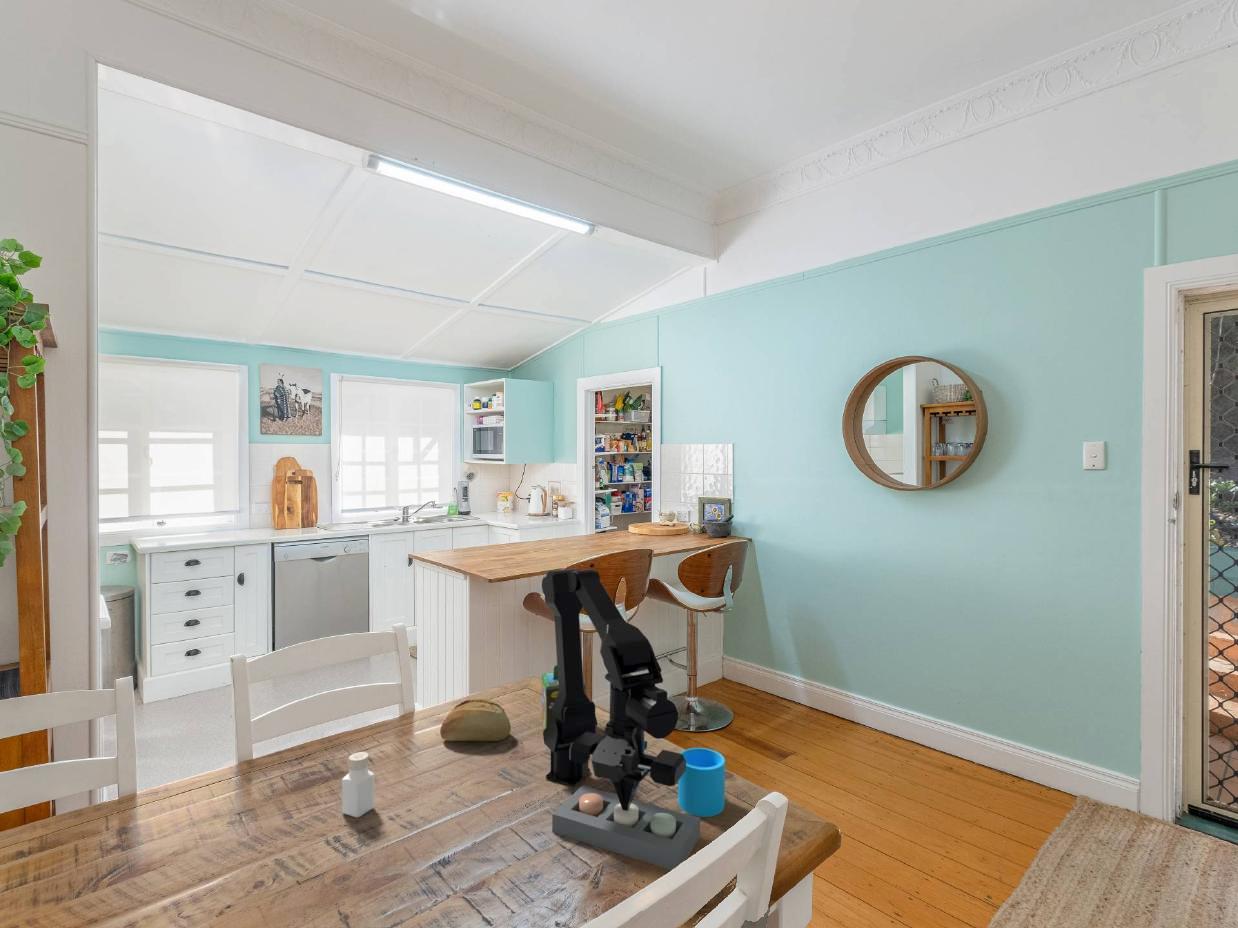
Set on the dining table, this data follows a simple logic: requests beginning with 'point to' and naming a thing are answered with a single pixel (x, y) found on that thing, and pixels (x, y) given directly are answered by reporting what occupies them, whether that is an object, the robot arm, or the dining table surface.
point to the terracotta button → (591, 804)
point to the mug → (702, 783)
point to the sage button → (663, 825)
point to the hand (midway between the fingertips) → (625, 809)
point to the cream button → (626, 815)
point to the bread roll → (476, 722)
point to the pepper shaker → (358, 786)
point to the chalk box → (550, 694)
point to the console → (627, 830)
